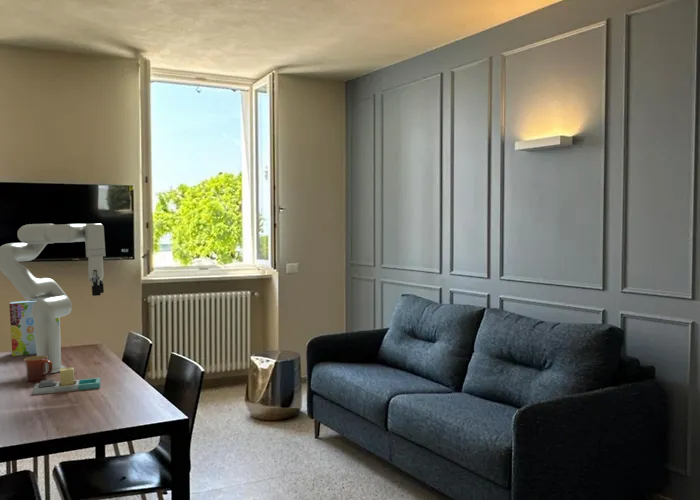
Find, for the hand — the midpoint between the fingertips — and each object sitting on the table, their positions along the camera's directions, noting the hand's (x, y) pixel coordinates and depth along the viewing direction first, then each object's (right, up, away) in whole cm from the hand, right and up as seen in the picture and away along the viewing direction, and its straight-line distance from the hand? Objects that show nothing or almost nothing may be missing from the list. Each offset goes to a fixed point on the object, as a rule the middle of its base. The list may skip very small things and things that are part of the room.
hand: (98, 294), depth 274 cm
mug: (-19, -35, -12) cm, 41 cm away
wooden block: (-2, -34, -24) cm, 42 cm away
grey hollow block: (-9, -34, -27) cm, 44 cm away
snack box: (-48, -32, +48) cm, 75 cm away
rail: (-2, -35, -24) cm, 43 cm away
